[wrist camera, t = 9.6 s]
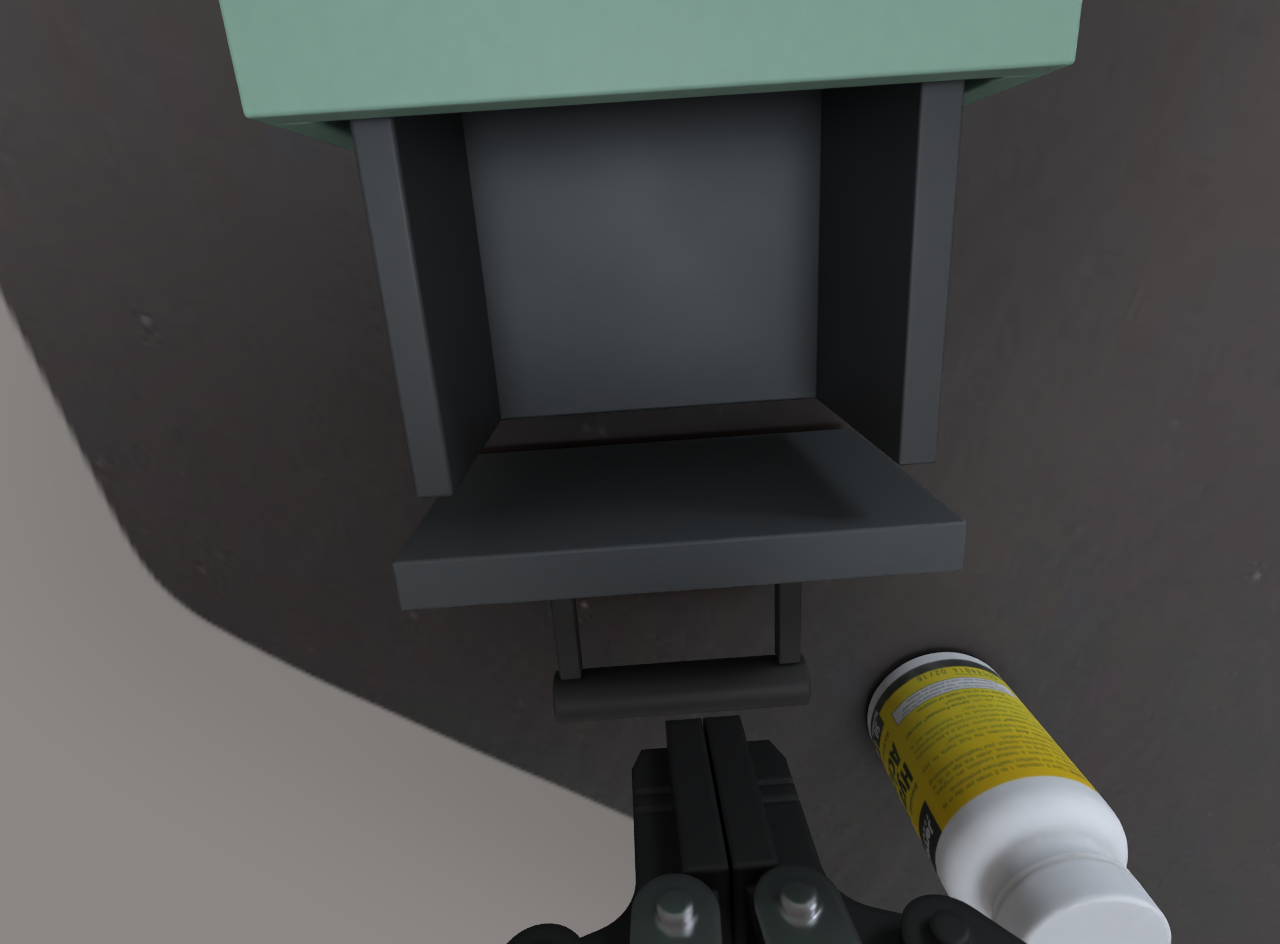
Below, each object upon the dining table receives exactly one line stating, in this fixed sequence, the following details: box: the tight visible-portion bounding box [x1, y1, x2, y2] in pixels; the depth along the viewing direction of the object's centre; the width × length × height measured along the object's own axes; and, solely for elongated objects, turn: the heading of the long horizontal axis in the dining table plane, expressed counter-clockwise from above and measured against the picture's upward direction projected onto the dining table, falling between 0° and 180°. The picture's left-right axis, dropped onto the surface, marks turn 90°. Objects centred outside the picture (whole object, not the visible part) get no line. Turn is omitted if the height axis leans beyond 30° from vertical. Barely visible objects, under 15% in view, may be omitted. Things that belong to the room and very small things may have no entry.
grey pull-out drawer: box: [349, 79, 967, 723], centre depth 18 cm, size 20×12×8 cm, turn 4°
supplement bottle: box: [867, 652, 1171, 944], centre depth 22 cm, size 5×5×10 cm
